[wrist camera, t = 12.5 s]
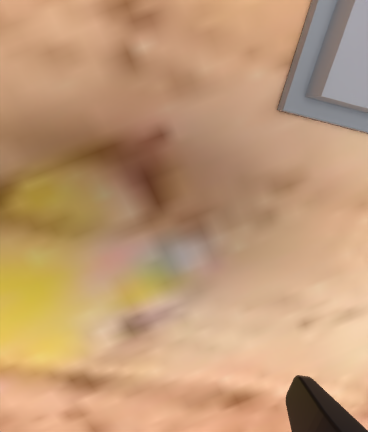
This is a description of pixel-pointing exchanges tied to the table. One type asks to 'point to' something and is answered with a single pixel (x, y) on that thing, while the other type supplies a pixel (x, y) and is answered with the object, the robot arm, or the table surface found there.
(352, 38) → the podium
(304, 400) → the robot arm
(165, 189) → the table surface
